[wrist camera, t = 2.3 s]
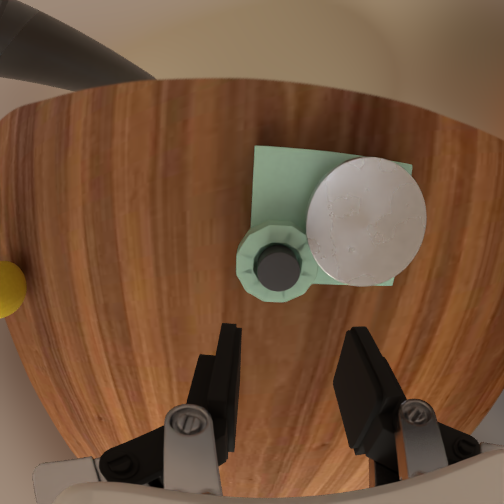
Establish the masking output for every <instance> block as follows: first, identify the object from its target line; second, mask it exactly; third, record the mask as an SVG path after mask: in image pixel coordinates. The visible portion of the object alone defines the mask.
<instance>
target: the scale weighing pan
mask: <svg viewBox="0 0 504 504" xmlns="http://www.w3.org/2000/svg"><path fill="white" fill-rule="evenodd" d="M304 225H305V235H306V240H307V243H308V246H309V249H310V251H311V253H312V255H313V257H314V259H315V260H316V262H317V263H318V265H319V266H320V267H321V268H322V269H323V271H324V272H326V273H327V274H328V275H329V276H330V277H332V278H334V279H335V280H337V281H339V282H342V283H344V284H348V285H352V286H373V285H377V284H381V283H383V282H386V281H388V280H390V279H391V278H393V277H395V276H396V275H398V274H399V273H400V272H402V271H403V270H404V269H405V268H406V267H407V266H408V265H409V264H410V262H411V261H412V260H413V258H414V257H415V255H416V254H417V252H418V250H419V248H420V246H421V243H422V241H423V238H424V234H425V229H426V207H425V201H424V198H423V195H422V192H421V190H420V188H419V186H418V185H417V183H416V181H415V180H414V179H413V177H412V176H411V175H410V174H409V173H408V172H407V171H406V170H405V169H404V168H402V167H401V166H399V165H398V164H396V163H394V162H392V161H390V160H387V159H383V158H378V157H357V158H352V159H349V160H346V161H344V162H342V163H340V164H338V165H336V166H335V167H333V168H332V169H330V170H329V171H328V172H327V173H326V174H325V175H324V176H323V177H322V178H321V179H320V180H319V182H318V183H317V185H316V186H315V188H314V189H313V191H312V193H311V195H310V198H309V201H308V203H307V207H306V212H305V222H304Z"/></svg>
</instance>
